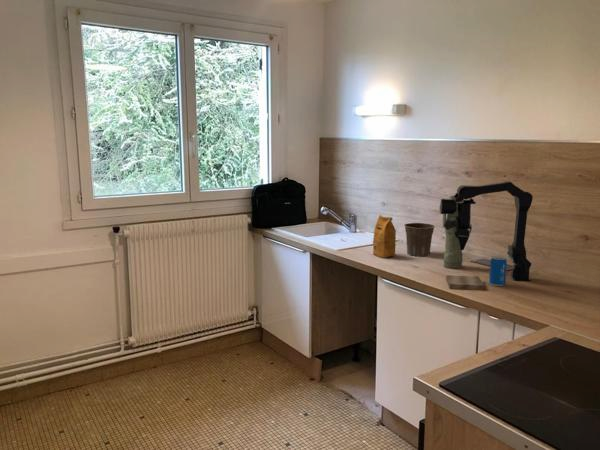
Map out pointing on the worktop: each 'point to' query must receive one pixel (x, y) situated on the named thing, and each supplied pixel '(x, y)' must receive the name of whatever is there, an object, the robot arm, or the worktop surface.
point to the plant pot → (419, 238)
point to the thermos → (452, 245)
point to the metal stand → (464, 282)
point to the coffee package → (384, 238)
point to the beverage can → (498, 271)
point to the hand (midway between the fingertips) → (462, 248)
